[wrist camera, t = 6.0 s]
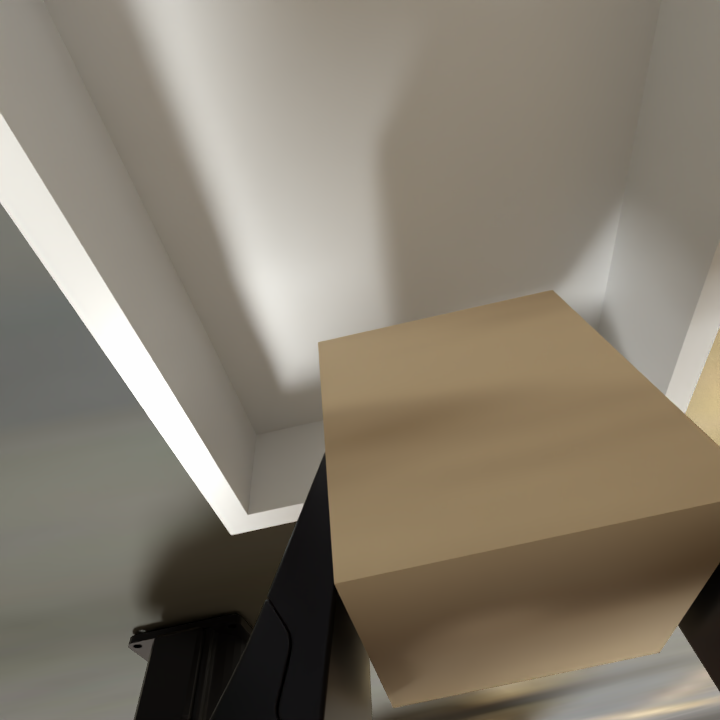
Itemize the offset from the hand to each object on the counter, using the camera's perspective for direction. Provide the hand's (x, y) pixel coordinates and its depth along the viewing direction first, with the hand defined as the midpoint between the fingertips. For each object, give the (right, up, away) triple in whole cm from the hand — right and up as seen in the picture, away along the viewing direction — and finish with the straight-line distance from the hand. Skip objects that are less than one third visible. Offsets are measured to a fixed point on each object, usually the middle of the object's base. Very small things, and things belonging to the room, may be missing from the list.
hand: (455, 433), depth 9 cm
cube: (0, +1, +1) cm, 1 cm away
